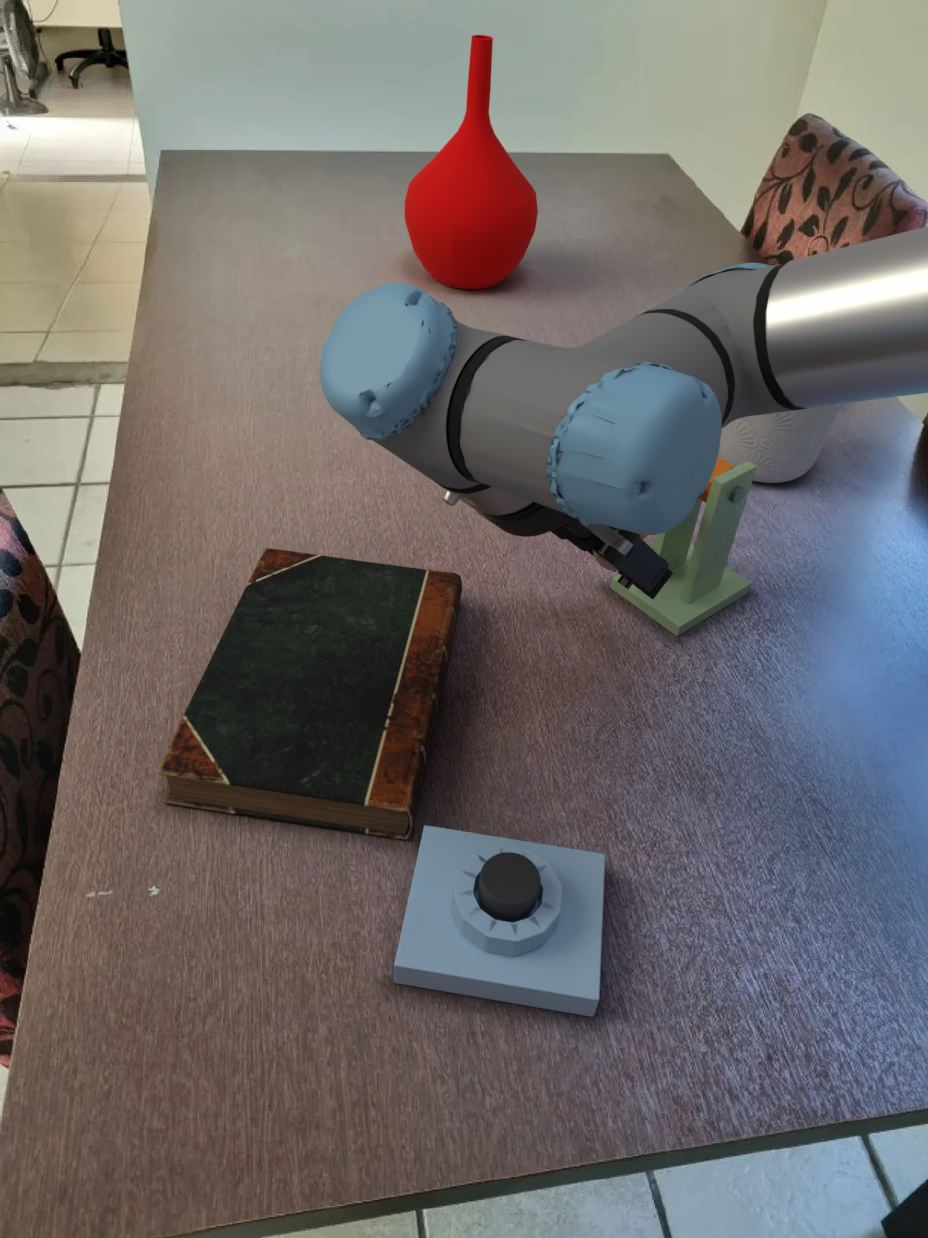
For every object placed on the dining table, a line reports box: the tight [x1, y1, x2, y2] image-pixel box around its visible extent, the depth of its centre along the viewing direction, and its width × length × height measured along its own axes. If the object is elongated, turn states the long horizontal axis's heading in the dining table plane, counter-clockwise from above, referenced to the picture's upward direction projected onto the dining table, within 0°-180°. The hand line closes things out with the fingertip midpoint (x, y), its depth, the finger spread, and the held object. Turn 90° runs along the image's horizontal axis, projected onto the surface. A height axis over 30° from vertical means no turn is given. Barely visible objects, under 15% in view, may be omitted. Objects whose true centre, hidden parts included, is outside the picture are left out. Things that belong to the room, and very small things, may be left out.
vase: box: [404, 34, 539, 290], centre depth 125 cm, size 18×18×30 cm
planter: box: [718, 404, 842, 484], centre depth 99 cm, size 12×12×11 cm
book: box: [157, 547, 463, 840], centre depth 72 cm, size 17×4×25 cm
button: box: [478, 852, 540, 920], centre depth 56 cm, size 4×4×2 cm
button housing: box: [393, 824, 606, 1018], centre depth 58 cm, size 12×10×4 cm
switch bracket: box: [609, 461, 757, 637], centre depth 80 cm, size 10×8×14 cm
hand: (639, 570), depth 78 cm, fingers closed on switch lever, 4 cm apart
